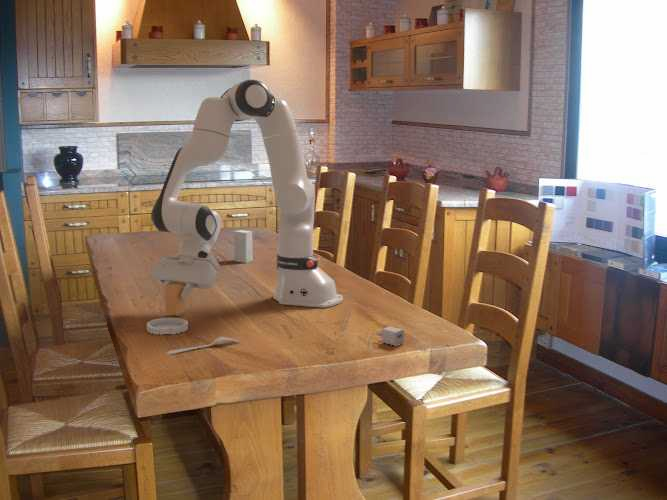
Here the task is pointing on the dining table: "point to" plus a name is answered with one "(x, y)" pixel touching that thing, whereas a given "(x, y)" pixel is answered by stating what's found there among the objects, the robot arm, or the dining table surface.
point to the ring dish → (167, 326)
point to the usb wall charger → (392, 336)
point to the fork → (201, 346)
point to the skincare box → (243, 246)
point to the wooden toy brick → (174, 299)
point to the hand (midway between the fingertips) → (173, 297)
